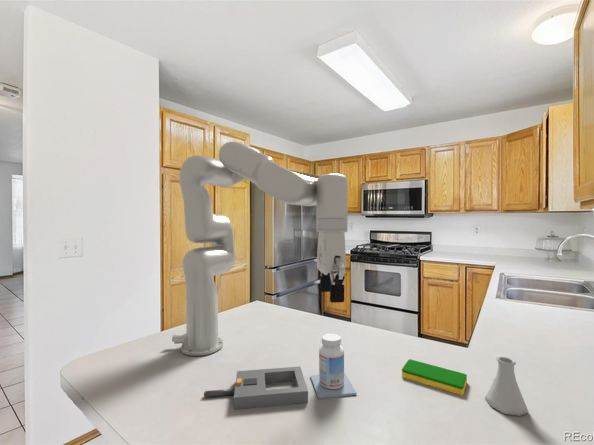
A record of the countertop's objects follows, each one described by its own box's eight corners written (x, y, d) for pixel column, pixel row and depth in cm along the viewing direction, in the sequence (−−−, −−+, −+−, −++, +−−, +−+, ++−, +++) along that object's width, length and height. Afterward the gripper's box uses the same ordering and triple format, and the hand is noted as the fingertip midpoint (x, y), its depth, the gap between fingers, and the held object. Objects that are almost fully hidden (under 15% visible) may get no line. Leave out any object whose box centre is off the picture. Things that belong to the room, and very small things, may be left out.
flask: (478, 396, 66) (478, 352, 66) (507, 394, 67) (507, 351, 67) (503, 418, 59) (503, 369, 59) (536, 416, 59) (536, 367, 59)
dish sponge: (409, 367, 80) (409, 358, 80) (466, 383, 72) (466, 373, 72) (401, 378, 75) (401, 369, 75) (463, 397, 66) (463, 387, 66)
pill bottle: (346, 379, 73) (346, 334, 73) (341, 392, 67) (341, 343, 67) (322, 375, 74) (322, 331, 74) (316, 387, 69) (316, 340, 69)
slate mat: (318, 398, 65) (318, 396, 65) (310, 377, 74) (310, 375, 74) (356, 394, 67) (356, 392, 67) (344, 374, 76) (344, 372, 76)
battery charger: (199, 412, 61) (199, 397, 61) (207, 383, 72) (207, 370, 72) (308, 402, 64) (308, 388, 64) (300, 376, 75) (300, 364, 75)
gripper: (309, 225, 78) (309, 288, 79) (325, 226, 61) (324, 307, 61) (336, 225, 80) (336, 287, 80) (359, 226, 62) (358, 306, 63)
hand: (331, 296), depth 71 cm, fingers open, 9 cm apart
